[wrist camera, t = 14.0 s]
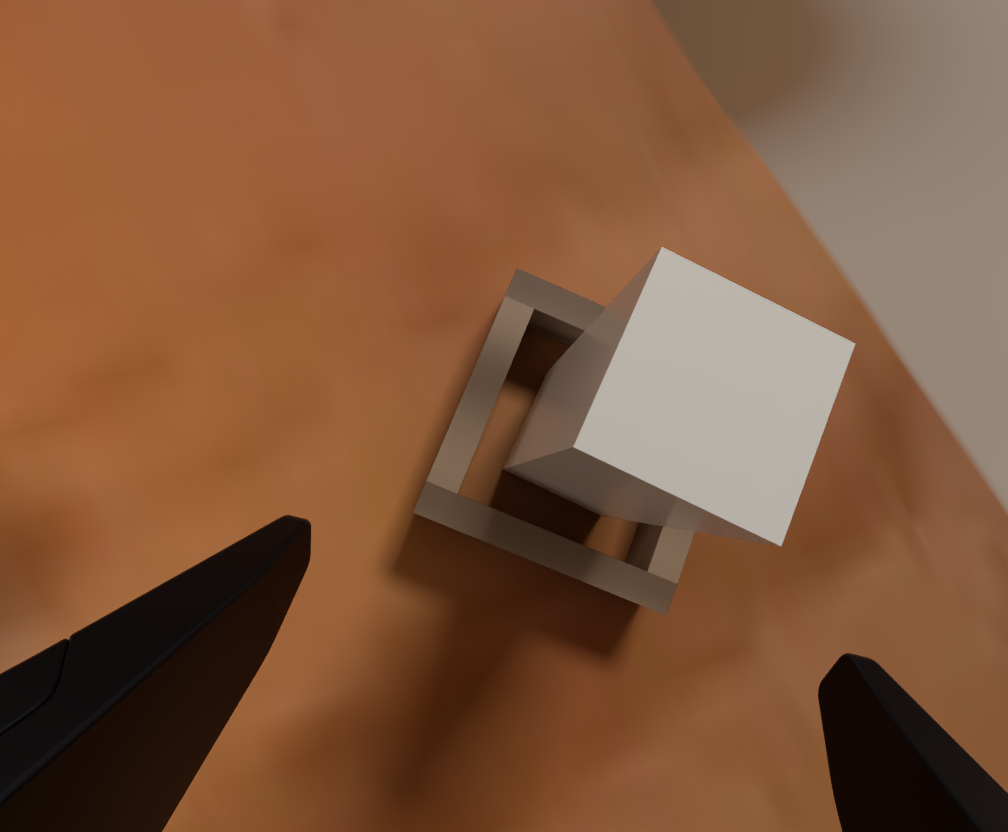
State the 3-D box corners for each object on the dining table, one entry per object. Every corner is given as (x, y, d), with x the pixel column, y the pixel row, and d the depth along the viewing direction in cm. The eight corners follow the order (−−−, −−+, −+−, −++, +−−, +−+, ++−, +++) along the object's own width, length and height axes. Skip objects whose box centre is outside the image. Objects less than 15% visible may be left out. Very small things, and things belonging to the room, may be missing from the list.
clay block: (600, 515, 23) (781, 546, 11) (502, 469, 23) (573, 447, 11) (642, 417, 24) (854, 343, 12) (547, 372, 24) (661, 246, 11)
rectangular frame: (642, 602, 23) (666, 615, 21) (415, 509, 22) (412, 512, 20) (718, 381, 25) (749, 369, 22) (508, 290, 24) (516, 268, 22)
